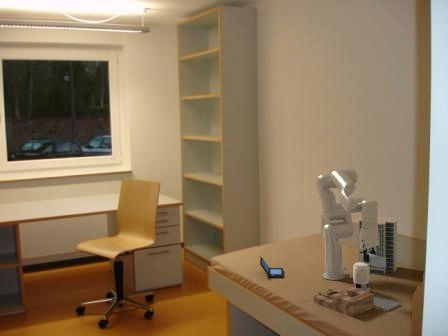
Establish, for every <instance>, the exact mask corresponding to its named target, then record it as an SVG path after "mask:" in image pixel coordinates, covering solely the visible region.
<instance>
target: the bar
mask: <svg viewBox="0 0 448 336" xmlns="http://www.w3.org/2000/svg"><path fill="white" fill-rule="evenodd" d="M368 254H369V262H364V261H363V254H360V262H362V263H365V264H369V265H372V266H376V267H379V268H381V267H384V266H386V258H385V257H381V256H377V255H373V254H370V253H368Z"/></svg>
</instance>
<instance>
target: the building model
mask: <svg viewBox="0 0 448 336" xmlns="http://www.w3.org/2000/svg"><path fill="white" fill-rule="evenodd" d="M377 219H378V232H379V243H380V245H379V246H378V248H377V252H376V255H377V256H381V257H385V258H386V266H384V267H381V268H379V267H376V266H372V265H369V264H368V265H369V267H370V274H376V275H385V274H386V272H388V273H396V270H397V267H398V265H397V264H398V263H397V259H398V258H397V253H398V251H397V250H398V249H397V248H398V247H397V245H398V240H397V239H398V232H397V231H398V229H397V228H398V227H397V226H398V225H397V223H398V220H397V219H398V218H395V217H379V216H377ZM361 228H362V216H361V217H359V219H358V238H359V237H360V230H361ZM365 247H366V246H365ZM359 248H360V246H359V245H358V262H360V254H363V253H362V251H361V250H359ZM365 250H367V249H365ZM370 251H371V248H369V253H370Z"/></svg>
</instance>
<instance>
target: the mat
mask: <svg viewBox="0 0 448 336" xmlns="http://www.w3.org/2000/svg"><path fill="white" fill-rule="evenodd" d="M401 305H402V303H400V302H397V301H393V300H391V299H387V298H385V297H381V296H378V295H375V294H374V308H376V309H378V310H381V309H382V311H384V310H385V311H384V312H387V311H388V312H391V311H392V310H394V309H396V308H399V307H400V306H401Z"/></svg>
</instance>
